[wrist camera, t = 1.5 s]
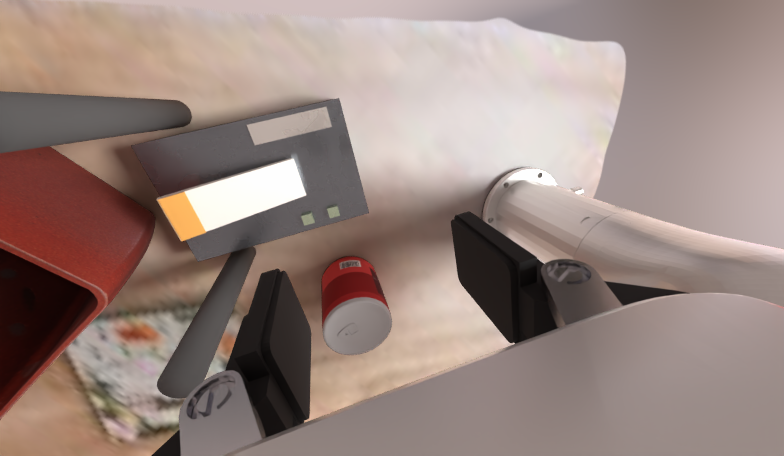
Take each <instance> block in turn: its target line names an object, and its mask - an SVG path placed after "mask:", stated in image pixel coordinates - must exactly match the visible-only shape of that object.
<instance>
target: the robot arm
mask: <svg viewBox="0 0 784 456" xmlns="http://www.w3.org/2000/svg"><path fill="white" fill-rule="evenodd" d="M582 194H583V190H582V188H581V187H576V188H572V189H570V190H568V189H565V188H562V187H559V186H557V183H556V181H555V180H554V178H553V177H552V176H551V175H550V174H549V173H547V172H545V171H544V170H541V169H537V168H532V167H526V168H520V169H517V170H514V171H512V172H510V173H508V174H507V175H505V176H504V177H503V178H501V179H500V180H499V181H498V182H497V183H496V184H495V186H494V187H493V188H492V190H491V191H490V193H489V195H488V197H487V199H486V201H485V204H484V209H483V220H481V219H480V218H479V217H477V216H476V215H474V214H473V213H471V212H465V213H462V214H459V215H455V218H454V220H452V221H451V227H452V235H453V242H454V250H455V257H456V265H457V272H458V278H459V281H460V283H461V284H462V286H463V287H464V288H465V289H466V291H467V292H468V293H469V294H470V295H471V297H472V298H473V299H474V300H475V302H476V303H477V304H478V305H479V306H480V308H481V309H482V310H483V311H484V312H485V314H486V315H487V316H488V317H489V319H490V320H491V321H492V322H493V323H494V325H495V326H496V327H497V328H498V330H499V331H500V332H501V333H502V334H503V336H504V337H505V338H506V339H507V340H508V342H510V343H515V344H514V345H511V346H508V347H506V348H503V349H500V350H498V351H495V352H492V353H489V354H487V355H484V356H481V357H478V358H476V359H473V360H470V361H468V362H465V363H462V364H460V365H457V366H454V367H452V368H449V369H446V370H444V371H441V372H438V373H436V374H433V375H430V376H427V377H425V378H422V379H419V380H417V381H414V382H411V383H409V384H406V385H403V386H401V387H398V388H395V389H393V390H390V391H387V392H385V393H382V394H379V395H377V396H374V397H372V398H369V399H366V400H364V401H361V402H358V403H356V404H353V405H350V406H348V407H345V408H343V409H340V410H337V411H335V412H332V413H329V414H327V415H324V416H322V417H319V418H316V419H314V420H311V421H308V422H306V423H304V420H307V419H309V414H310V369H311V330H310V326H309V323H308V321H307V319H306V317H305V314H304V312H303V310H302V307H301V305H300V303H299V301H298V298H297V296H296V294H295V291H294V289H293V287H292V284H291V282H290V280H289V278H288V275H287V273H286V272H285V271H282V272H280V270H279V269H275V270H272V271H268V272H265V273H262V274H261V277H260V280H259V283H258V286H257V289H256V292H255V295H254V298H253V301H252V304H251V307H250V310H249V313H248V315H246V316H245V317H244V318H243V321H242V324H241V327H240V330H239V332H238V335H237V338H236V341H235V344H234V347H233V350H232V353H231V356H230V359H229V361H228V364H227V367H226V370H225V371H223V372H220V373H217V374H215V375H213V376H211V377H209V378H207V379H206V380H205V381H203V382H202V383H200V384H199V385H198V386H197V387H196V388H195V389H194V390H193V391H192V392H191V393H190V394H189V395H188V397H187V398H186V399H185V401H184V403H183V405H182V407H181V409H180V414H179V428H180V430H179V431H177V432H176V433H175V434H174V435H173V436H172V437H171V438H170V439H169V440H168V441H167V442H166V443H165V444H163V445H162V446H161V447H160V448H159V449H158V450H157V451H156V452H155V453H154V454H153V455H152V456H784V249H780V248H776V247H771V246H766V245H760V244H755V243H751V242H746V241H741V240H736V239H731V238H726V237H721V236H717V235H713V234H708V233H704V232H700V231H695V230H692V229H688V228H685V227H682V226H678V225H674V224H671V223H668V222H664V221H661V220H658V219H655V218H651V217H648V216H645V215H642V214H639V213H636V212H633V211H630V210H626V209H623V208H620V207H618V206H614V205H611V204H608V203H605V202H602V201H599V200H596V199H593V198H590V197H587V196H584V195H582ZM537 258H538V259H540V260H541V261H543V262H544V263H545V264H544V263H542V262H541V261H539V260H538V259H537Z"/></svg>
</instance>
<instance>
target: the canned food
mask: <svg viewBox="0 0 784 456" xmlns="http://www.w3.org/2000/svg"><path fill="white" fill-rule="evenodd" d="M321 291H322V328H323V336H324V340H325V342H326V344H327V346H328V347H329V348H331V349H332V350H333V351H335V352H337V353H340V354H344V355H357V354H362V353H366V352H368V351H370V350H373V349H374V348H376V347H377V346H379V345H380V344H381V343H382V342H383V341H384V340H385V339H386V338H387V336H388V334H389V333H390V330H391V327H392V319H391V313H390V311H389V307H388V305H387V302H386V299H385V297H384V294H383V291H382V288H381V286H380V283H379V280H378V278H377V275H376V272H375V270H374V268H373V267H372V265H371V264H370V263H368V262H367V261H366V260H364V259H362V258H359V257H353V256H351V257H344V258H341V259H338V260H336V261H335V262H333V263H332V264H331V265H330V266H329V267H328V268H327V269H326V271H325V273H324V275H323V277H322V281H321Z"/></svg>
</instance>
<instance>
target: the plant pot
mask: <svg viewBox="0 0 784 456" xmlns="http://www.w3.org/2000/svg"><path fill="white" fill-rule="evenodd" d="M154 228H155V217H154V215H153V214H152V213H151V212H150V211H149V210H147V209H145V208H144V207H142V206H141V205H139V204H138V203H136V202H135V201H133V200H132V199H130V198H129V197H127V196H125V195H124V194H122V193H121V192H119V191H118V190H116V189H115V188H113V187H111V186H110V185H108V184H107V183H105V182H104V181H102V180H101V179H99V178H98V177H96V176H94V175H93V174H91V173H90V172H88V171H87V170H85V169H84V168H82V167H81V166H79V165H77V164H76V163H74V162H73V161H71V160H70V159H68V158H67V157H65V156H64V155H62V154H60V153H59V152H57V151H56V150H54V149H53V148H51V147H49V146H47V147H40V148H34V149H27V150H20V151H13V152H6V153H0V420H1V418H2V417H3V416H4V415H5V414H6V413H7V412H8V411H9V410H10V409H11V407H12V406H13V405H14V404H15V403H16V402H17V401H18V400H19V399H20V398H21V396H22V395H23V394H24V393H25V392H26V391H27V390H28V389H29V388H30V387H31V386H32V384H33V383H34V382H35V381H36V380H37V379H38V378H39V377H40V376H41V375H42V374H43V373H44V372H45V371H46V370H47V369H48V367H49V366H50V365H51V364H52V363H53V362H54V361H55V360H56V359H57V358H58V357H59V356H60V355H61V354H62V353H63V352H64V351H65V349H66V348H67V347H68V346H69V345H70V344H71V343H72V342H73V341H74V340H75V339H76V338H77V337H78V336H79V335H80V334H81V333H82V332H83V331H84V330H85V329H86V327H87V326H88V325H89V324H90V323H91V322H92V321H93V320H94V319H95V318H96V317H97V316H98V315H99V314H100V313H101V312H102V311H103V310H104V309H105V308H106V307H107V306H108V304H109V303H110V302H111V301H112V300H113V299H114V297H115V296H116V295H117V293H118V292H119V291H120V289H121V288H122V287H123V285H124V284H125V283H126V281H127V280H128V279H129V277H130V276H131V274H132V273H133V272H134V270H135V269H136V267H137V266H138V264H139V262H140V261H141V259H142V258H143V256H144V254H145V252H146V250H147V248H148V246H149V244H150V241H151V239H152V236H153V232H154Z"/></svg>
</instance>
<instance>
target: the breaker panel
mask: <svg viewBox="0 0 784 456" xmlns="http://www.w3.org/2000/svg"><path fill="white" fill-rule="evenodd" d="M131 147H132V149H133V150H134V152H135V154H136V156H137V157H138V159H139V161H140V163H141V164H142V166H143V168H144V169H145V171H146V173H147V175H148V176H149V178H150V180H151V181H152V183H153V185H154V187H155V188H156V190H157V192H158V194H159V195H160V197H161V196H164V195H168V194H171V193H175V192H178V191H181V190H185V189H188V188H191V187H195V186H198V185H201V184H205V183H208V182H211V181H215V180H218V179H221V178H225V177H228V176H231V175H235V174H238V173H242V172H245V171H248V170H252V169H255V168H258V167H262V166H265V165H268V164H272V163H275V162H278V161H282V160H285V159H288V158H293V159H294V161H295V164H296V167H297V170H298V173H299V176H300V178H301V181H302V184H303V187H304V190H305V193H306V196H303V197H300V198H298V199H295V200H292V201H289V202H287V203H284V204H281V205H278V206H276V207H273V208H270V209H267V210H265V211H262V212H259V213H257V214H254V215H251V216H248V217H246V218H243V219H240V220H237V221H235V222H232V223H229V224H226V225H224V226H221V227H218V228H215V229H213V230H210V231H207V232H206V233H203V234H201V235H198V236H195V237H192V238H190V239H187V240H186V242H187V244H188V245H189V247H190V249H191V251H192V252H193V254H194V256H195V257H196V259H197V261H198V262H199V261H202V260H206V259H209V258H213V257H216V256H220V255H223V254H227V253H230V252H234V251H237V250H241V249H244V248H248V247H251V246H255V245H258V244H262V243H265V242H269V241H272V240H276V239H279V238H283V237H286V236H290V235H293V234H297V233H300V232H304V231H307V230H311V229H314V228H318V227H321V226H325V225H328V224H332V223H335V222H339V221H342V220H346V219H349V218H353V217H356V216H360V215H363V214H367V213H369V211H368V207H367V203H366V199H365V196H364V192H363V188H362V184H361V180H360V176H359V173H358V169H357V165H356V161H355V157H354V153H353V150H352V146H351V142H350V138H349V134H348V130H347V127H346V123H345V119H344V115H343V111H342V107H341V104H340V100H339V98H338V99H333V100H329V101H324V102H320V103H316V104H311V105H307V106H303V107H298V108H294V109H289V110H285V111H281V112H276V113H272V114H267V115H263V116H259V117H254V118H250V119H245V120H241V121H237V122H232V123H228V124H224V125H219V126H215V127H210V128H206V129H202V130H197V131H193V132H188V133H184V134H180V135H175V136H171V137H166V138H162V139H158V140H153V141H149V142H144V143H140V144H136V145H131Z"/></svg>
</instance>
